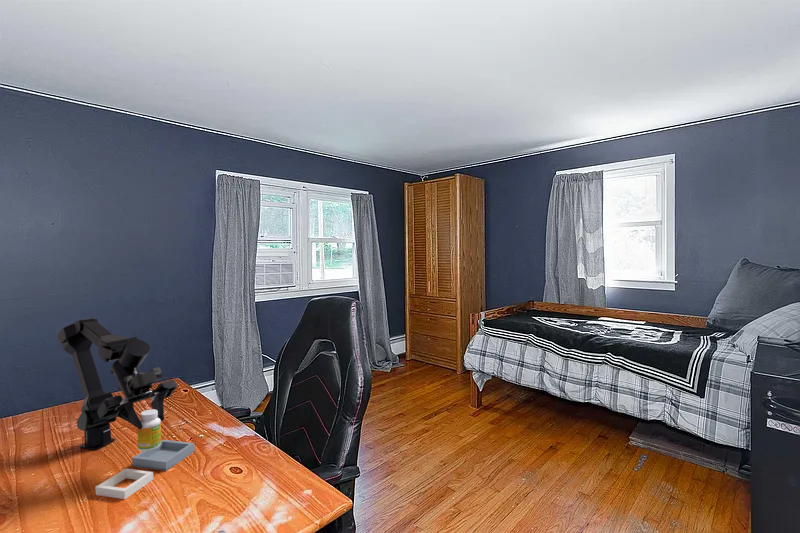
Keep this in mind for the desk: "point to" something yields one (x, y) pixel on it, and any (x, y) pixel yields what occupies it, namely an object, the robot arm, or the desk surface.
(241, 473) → the desk surface
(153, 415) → the supplement bottle
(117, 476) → the holder collar
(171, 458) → the tray
